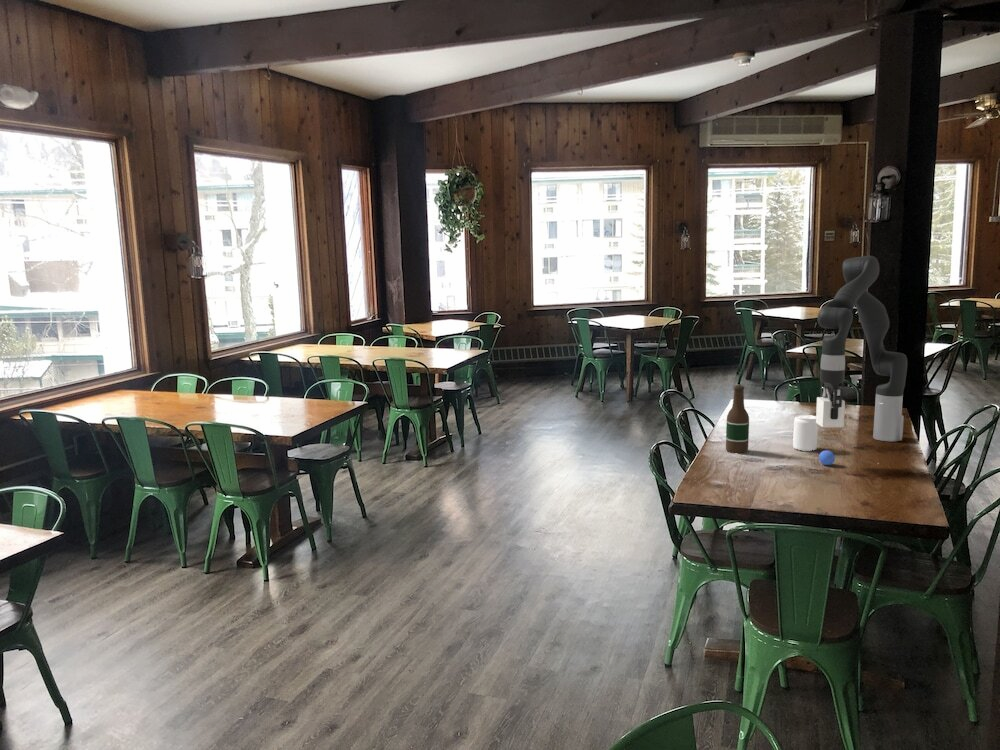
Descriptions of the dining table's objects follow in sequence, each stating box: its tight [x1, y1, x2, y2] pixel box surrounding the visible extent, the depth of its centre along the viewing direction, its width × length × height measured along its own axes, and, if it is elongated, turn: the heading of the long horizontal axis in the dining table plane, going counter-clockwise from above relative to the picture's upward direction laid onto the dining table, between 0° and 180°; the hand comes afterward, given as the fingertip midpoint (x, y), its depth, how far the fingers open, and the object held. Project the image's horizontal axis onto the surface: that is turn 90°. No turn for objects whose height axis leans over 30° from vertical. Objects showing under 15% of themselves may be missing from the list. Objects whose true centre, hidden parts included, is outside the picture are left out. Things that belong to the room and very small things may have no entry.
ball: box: [818, 450, 836, 466], centre depth 273 cm, size 5×5×5 cm
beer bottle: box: [725, 385, 750, 454], centre depth 290 cm, size 8×8×24 cm
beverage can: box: [792, 414, 819, 452], centre depth 293 cm, size 8×8×12 cm
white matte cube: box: [815, 396, 846, 428], centre depth 270 cm, size 7×7×9 cm
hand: (830, 416), depth 271 cm, fingers closed on white matte cube, 7 cm apart
